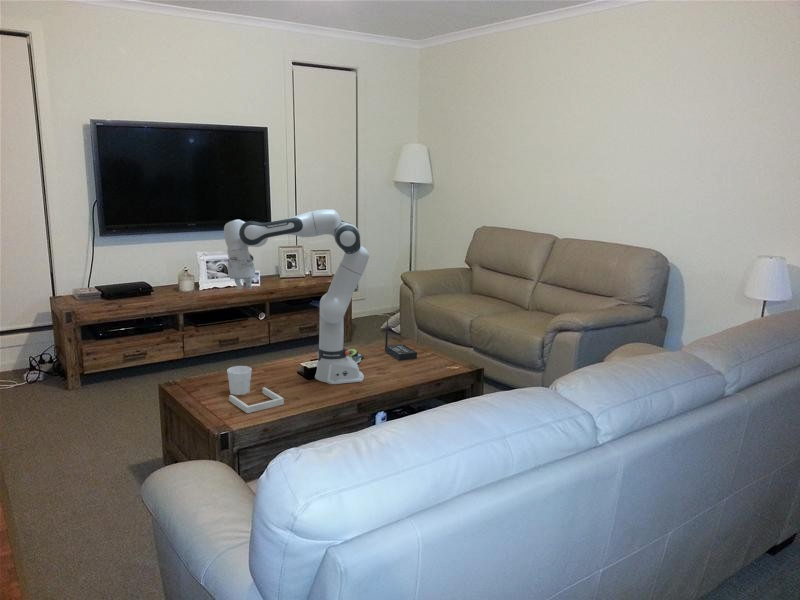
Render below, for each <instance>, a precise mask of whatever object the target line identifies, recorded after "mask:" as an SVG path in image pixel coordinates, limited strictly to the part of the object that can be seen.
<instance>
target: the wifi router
mask: <svg viewBox="0 0 800 600" xmlns="http://www.w3.org/2000/svg"><path fill="white" fill-rule="evenodd" d="M388 321H389V319H386V328H385V341H384V342H385V343H384V352H385V353H386V354H388V355H389V356H391V357H392V358H394V359H396V360H397V361H398V362H400V361H402V362H403V361H409V360H417V359H418V352H417V351H415V350H414V349H411V348H410V347H408V346H406V344H404V343H393V344H388V341H389V338H388V336H389V328H388V327H389V322H388Z"/></svg>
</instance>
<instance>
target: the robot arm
mask: <svg viewBox="0 0 800 600" xmlns="http://www.w3.org/2000/svg"><path fill="white" fill-rule="evenodd" d="M223 233H224V239H225V244H226V247H227V250H226V251H227V257H228V262H227V272H228V273H227V275H228V278H229V279H230V280H234V283H235V285H236V287H237V290H242V289H243V288H244V287H243V284H242V283H241V281H242V280H245V281H246V284H245V286H246V289H247V290H251V289H252V288H253V287H252V280H253V279H255V277H256V268H255V263H254V262H253V261H255V258H254V255H252V254H251V253H250V252H249V247H252V248H253V247H254V248H259V247H263V246H264V245H265V244H266V243H267V242H268V239H269V238H273V237H274V238H275V237H279V236H286V235H292V236H296V237H299V238H314V237H319V236H323V235H330V236H333V238H334V241H335V243H336V245H337V246H338V247H339V248H340V249H341V250H342V251H343V252H344V255H343V258H342V259H341V261H340V263H339V265H338V267H337V270H336V271H335V273H334V276H333V277H332V280H331V283H330V285H329V288H328V290H327V292H326V293H325V294H323V295H322V296H321V298H320V300H319V322H318V323H319V326H318V327H319V333H318V334H319V336H318V340H319V341H318V348H317V367H316V372H315V375H314V379H315V380H317V381H319V382H321V383H322V382H323V383H327V384H328V385H339V384H350V383H351V384H352V383H360V382H361V383H362V382H363V381H364V380H365V376H364V373H363V372H362V371H360V368H359V364H358V363H356V362H355V361H354V360H353V359H351V358H350V357H349V351H348V349H347V348H346V347H344V342H345V341H344V340H345V339H344V338H345V337H344V336H345V332H344V331H345V329H344V325H345V324H344V323H345V322H344V321H345V320H344V318H345V314H346V312H347V311H348V307H349V305H350V303H351V301H352V298H353V295H354V293H355V290H356V289H357V286H358V284H359V283H360V280H361V279H362V277H363V275H364V272H365V269H366V268H367V265H368V262H369V259H370V253H369V251H368V250H367V248H365V246H362V245H361V234H360V231H359V229H358V228H357V226H355V225H354V224H352V223H351V222H346V221H344V220H342V219H341V217H340V214H339V213H338V212H337V211H336V210H335V209H332V208H329V209H327V208H326V209H316V210H311V211H306V212H303V213H300V214H297V215H295V216H292V217H288V218H285V219H280V220H279V219H278V220H275V221H274V220H273V221H269V222H260V221H254V220H249V221H244V220H241V219H238V218H237V219H233V220H229V221H227V222H226V223H225V225H224V227H223Z"/></svg>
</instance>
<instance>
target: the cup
mask: <svg viewBox="0 0 800 600" xmlns="http://www.w3.org/2000/svg"><path fill="white" fill-rule="evenodd" d="M252 370H253V369H252V368H251V367H250V366H246V365H235V366H231V367H229V368H227V369H226V372H227V379H228V385H229V387H228V388H229V392H230V395H233V396H235V397H237V396H245V395H246V394H249V393H250V392H251V391H250V389H251V379H252Z"/></svg>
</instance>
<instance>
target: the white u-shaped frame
mask: <svg viewBox="0 0 800 600" xmlns="http://www.w3.org/2000/svg"><path fill="white" fill-rule="evenodd" d="M262 394H263V395H265V396H266V397H268V398H270V399H271V400H266V401H263V402H259V403H255V404H251V405H248V404H247V403H245V402H243V401H242V400H241V399H240V398H238V397H237V396H236V395H234V394H230V395H228V396H229V397H228V400H229V402H230V403H232V405H235V406H236V407H238V408H239V409H240V410H242V411H243V412H245V413H246V414H250V413H251V414H252V413H255V412H259V411H263V410H266V409H271V408H275V407H279V406H281V405H284V404H285V398H284V397H282V396H281V395H279V394H277V393H275V392H274V391H272V390H271V389H269V388H267V387H265V386H264V387H262Z"/></svg>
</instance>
